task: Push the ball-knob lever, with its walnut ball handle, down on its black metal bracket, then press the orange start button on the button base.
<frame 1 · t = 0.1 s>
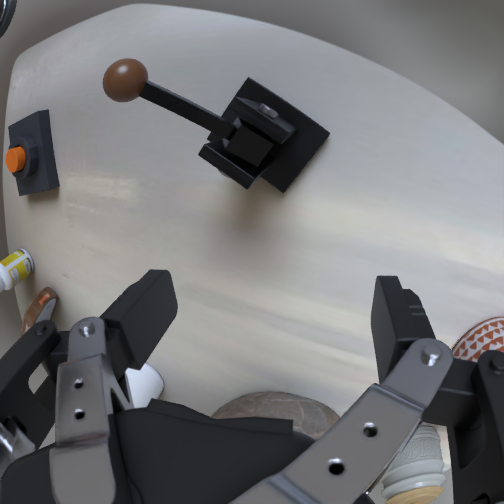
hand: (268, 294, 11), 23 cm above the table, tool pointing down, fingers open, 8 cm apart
supplement bottle: (27, 260, 48), on the table
ball-knob lever: (186, 108, 19), point 12 cm above the table, hinge at 25.0°
bowl: (281, 409, 49), on the table
tin: (51, 305, 51), on the table
start button: (15, 159, 33), point 5 cm above the table, slide at 0.2 cm
button base: (36, 153, 37), on the table
mug: (142, 378, 53), on the table
planter: (483, 349, 36), on the table
switch bracket: (268, 133, 30), on the table
jar: (409, 440, 48), on the table
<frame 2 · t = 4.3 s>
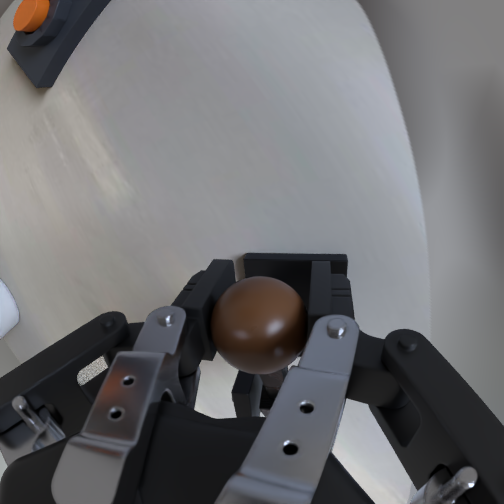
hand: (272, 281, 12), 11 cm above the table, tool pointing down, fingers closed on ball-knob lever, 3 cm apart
ball-knob lever: (274, 371, 13), point 12 cm above the table, hinge at 25.0°, touching gripper
start button: (31, 13, 14), point 5 cm above the table, slide at 0.2 cm
button base: (63, 18, 18), on the table
mug: (1, 300, 39), on the table
switch bracket: (296, 305, 26), on the table
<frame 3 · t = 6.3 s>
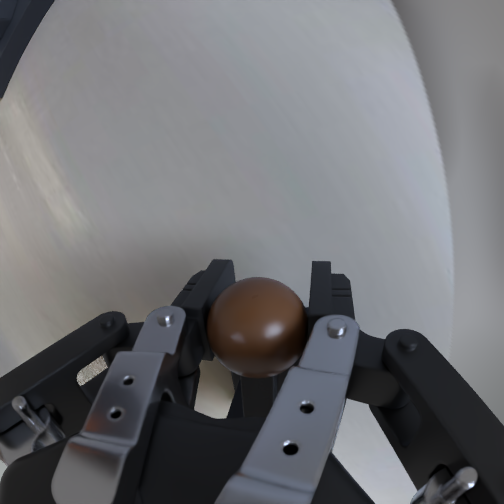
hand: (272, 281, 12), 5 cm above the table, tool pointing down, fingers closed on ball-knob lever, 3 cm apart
ball-knob lever: (261, 432, 11), point 9 cm above the table, hinge at -11.0°, touching gripper
button base: (15, 17, 13), on the table
switch bracket: (289, 363, 21), on the table
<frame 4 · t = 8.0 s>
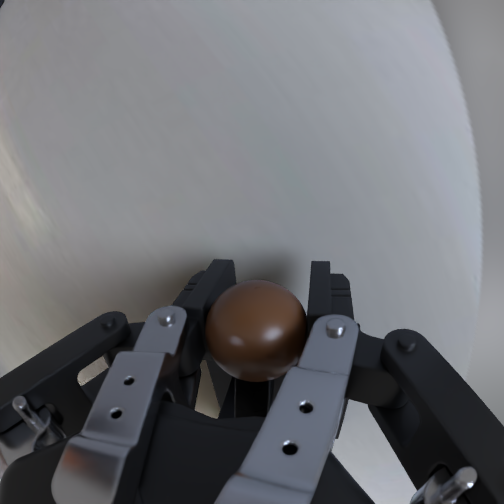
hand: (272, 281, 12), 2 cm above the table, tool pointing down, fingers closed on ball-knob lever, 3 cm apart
ball-knob lever: (252, 459, 9), point 7 cm above the table, hinge at -31.1°, touching gripper
switch bracket: (282, 382, 17), on the table
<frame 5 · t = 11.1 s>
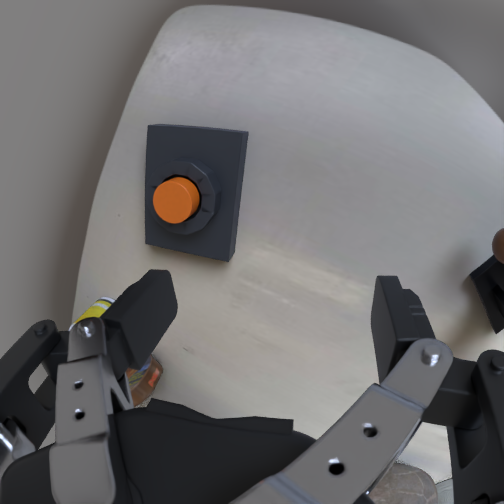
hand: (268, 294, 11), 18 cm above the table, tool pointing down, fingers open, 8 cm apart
supplement bottle: (113, 311, 39), on the table
bowl: (373, 470, 45), on the table
tin: (138, 366, 43), on the table
start button: (176, 200, 25), point 5 cm above the table, slide at 0.2 cm
button base: (196, 188, 29), on the table
jar: (445, 486, 46), on the table
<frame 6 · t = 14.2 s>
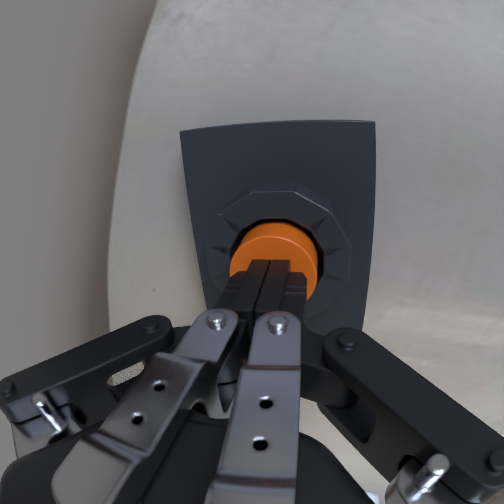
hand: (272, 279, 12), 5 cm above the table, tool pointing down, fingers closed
bowl: (480, 484, 29), on the table
start button: (275, 267, 13), point 4 cm above the table, slide at 0.0 cm, touching gripper
button base: (285, 230, 17), on the table
mug: (344, 501, 34), on the table
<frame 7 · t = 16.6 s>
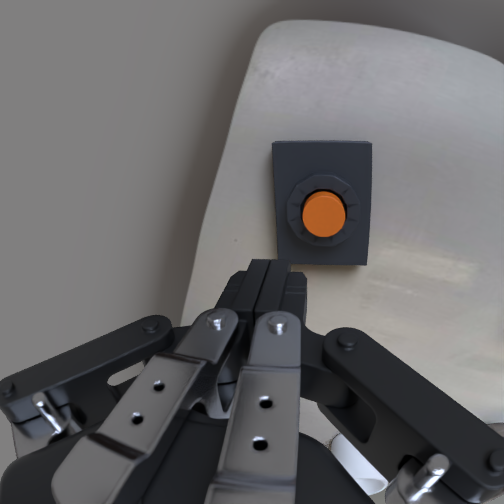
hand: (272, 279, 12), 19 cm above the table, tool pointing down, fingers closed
start button: (323, 214, 26), point 5 cm above the table, slide at 0.2 cm
button base: (323, 200, 30), on the table
mug: (355, 443, 46), on the table
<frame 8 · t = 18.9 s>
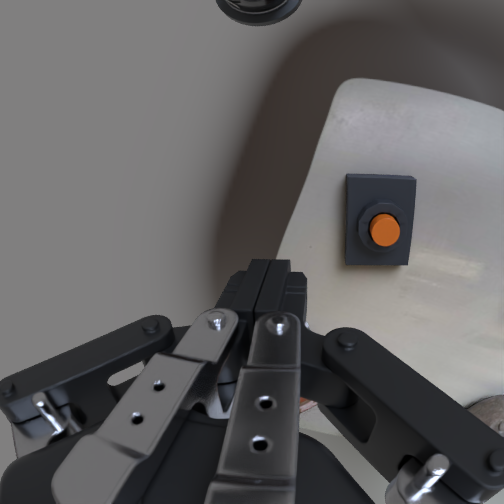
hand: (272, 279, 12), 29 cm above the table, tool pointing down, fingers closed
bowl: (480, 409, 51), on the table
start button: (384, 230, 35), point 5 cm above the table, slide at 0.2 cm
button base: (378, 218, 39), on the table
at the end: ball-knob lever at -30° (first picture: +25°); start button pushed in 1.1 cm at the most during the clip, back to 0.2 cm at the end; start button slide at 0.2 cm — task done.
